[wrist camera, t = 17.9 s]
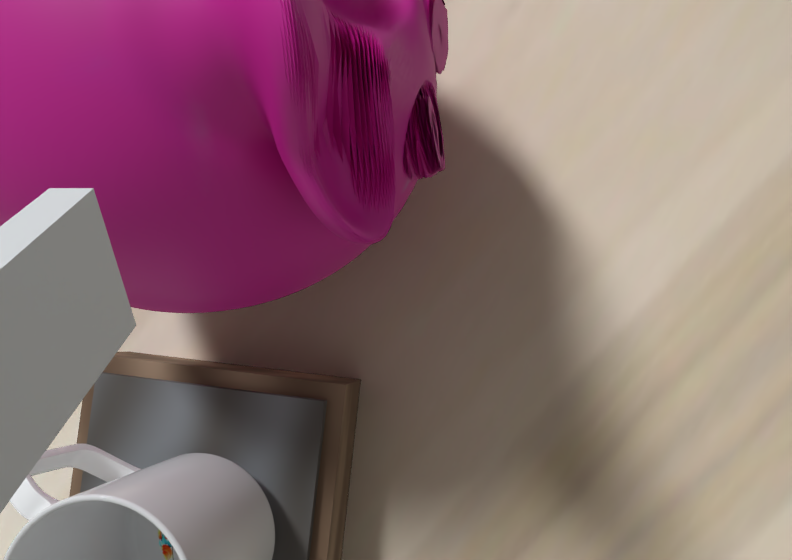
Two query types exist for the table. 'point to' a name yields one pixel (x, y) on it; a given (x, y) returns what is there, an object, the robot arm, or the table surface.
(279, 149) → the figurine
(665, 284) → the table surface
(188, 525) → the mug
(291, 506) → the walnut plinth
